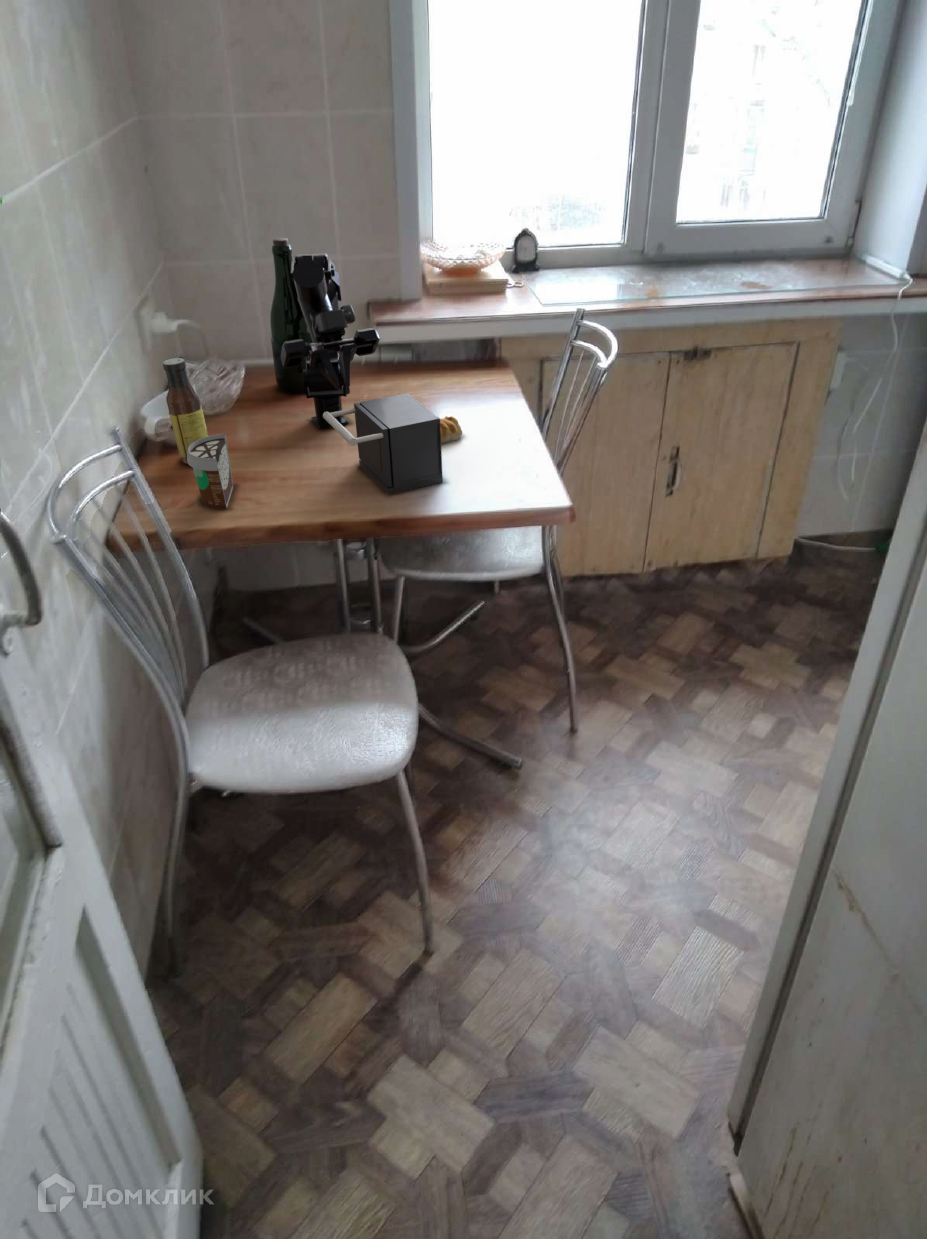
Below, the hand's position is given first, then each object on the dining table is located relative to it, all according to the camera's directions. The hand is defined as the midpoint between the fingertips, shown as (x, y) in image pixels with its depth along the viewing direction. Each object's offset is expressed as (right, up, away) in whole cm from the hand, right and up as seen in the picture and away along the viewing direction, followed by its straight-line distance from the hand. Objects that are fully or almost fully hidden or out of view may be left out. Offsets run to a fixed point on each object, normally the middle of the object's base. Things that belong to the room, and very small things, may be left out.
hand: (343, 387), depth 173 cm
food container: (-23, -22, -8) cm, 33 cm away
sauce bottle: (-30, -13, +7) cm, 34 cm away
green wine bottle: (-16, +11, +41) cm, 46 cm away
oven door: (+3, -17, -5) cm, 18 cm away
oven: (+11, -17, -1) cm, 20 cm away
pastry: (+18, -7, +13) cm, 24 cm away
